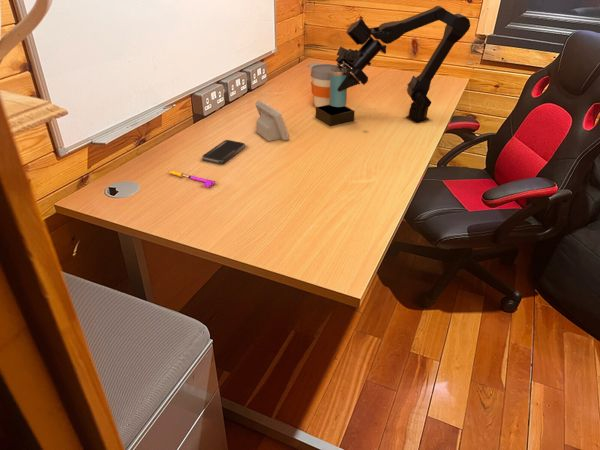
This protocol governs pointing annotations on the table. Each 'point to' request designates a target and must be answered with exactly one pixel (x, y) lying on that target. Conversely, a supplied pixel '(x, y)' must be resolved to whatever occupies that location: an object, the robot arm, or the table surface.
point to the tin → (335, 81)
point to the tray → (334, 115)
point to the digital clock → (270, 123)
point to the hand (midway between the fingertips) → (335, 87)
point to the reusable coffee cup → (321, 83)
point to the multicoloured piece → (207, 182)
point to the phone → (223, 151)
